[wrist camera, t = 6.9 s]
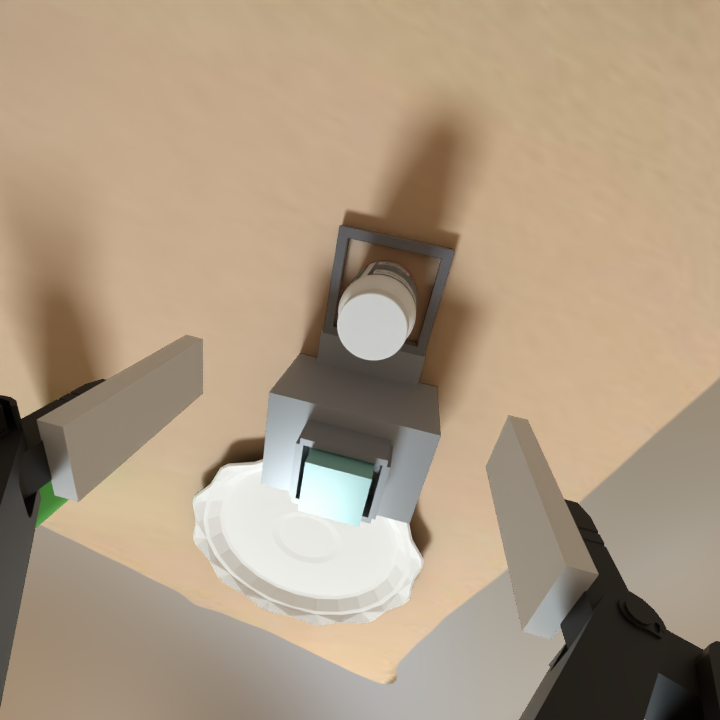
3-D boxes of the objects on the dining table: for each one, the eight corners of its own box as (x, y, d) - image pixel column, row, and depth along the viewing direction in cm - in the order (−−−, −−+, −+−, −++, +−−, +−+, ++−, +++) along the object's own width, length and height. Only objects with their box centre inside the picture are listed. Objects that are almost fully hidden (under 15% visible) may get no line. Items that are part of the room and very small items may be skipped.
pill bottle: (369, 331, 34) (350, 379, 25) (342, 276, 32) (312, 306, 23) (427, 308, 32) (428, 350, 23) (402, 248, 31) (393, 269, 22)
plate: (450, 482, 40) (451, 498, 38) (391, 630, 53) (389, 648, 51) (201, 417, 42) (189, 429, 40) (202, 575, 55) (193, 590, 53)
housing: (316, 219, 31) (269, 229, 21) (480, 254, 30) (506, 282, 20) (289, 432, 41) (249, 504, 31) (411, 464, 40) (408, 548, 30)
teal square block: (316, 437, 29) (305, 462, 26) (376, 452, 29) (371, 479, 26) (308, 483, 31) (297, 510, 29) (364, 498, 31) (359, 526, 28)
